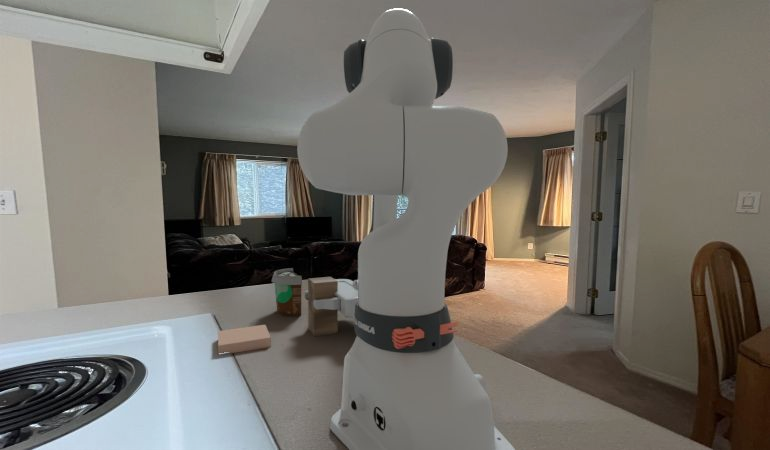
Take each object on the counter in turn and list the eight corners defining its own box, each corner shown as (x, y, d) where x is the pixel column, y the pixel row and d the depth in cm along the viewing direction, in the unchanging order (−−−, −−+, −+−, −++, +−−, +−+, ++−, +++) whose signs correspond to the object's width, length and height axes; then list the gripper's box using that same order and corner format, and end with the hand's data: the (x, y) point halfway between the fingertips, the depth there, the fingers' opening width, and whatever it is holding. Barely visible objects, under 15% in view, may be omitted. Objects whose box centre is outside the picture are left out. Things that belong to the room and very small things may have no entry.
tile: (270, 337, 66) (218, 345, 62) (270, 348, 66) (218, 357, 63) (265, 324, 74) (217, 331, 70) (265, 334, 74) (218, 341, 70)
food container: (269, 306, 92) (268, 269, 92) (293, 304, 95) (292, 267, 94) (275, 320, 81) (275, 278, 81) (302, 317, 84) (302, 276, 83)
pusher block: (337, 332, 74) (337, 281, 73) (314, 336, 72) (314, 283, 71) (330, 325, 78) (330, 276, 78) (308, 328, 76) (308, 278, 75)
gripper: (353, 271, 88) (298, 276, 82) (390, 288, 70) (322, 296, 64) (353, 295, 89) (299, 302, 83) (389, 319, 70) (322, 330, 64)
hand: (309, 299), depth 73 cm, fingers open, 6 cm apart
